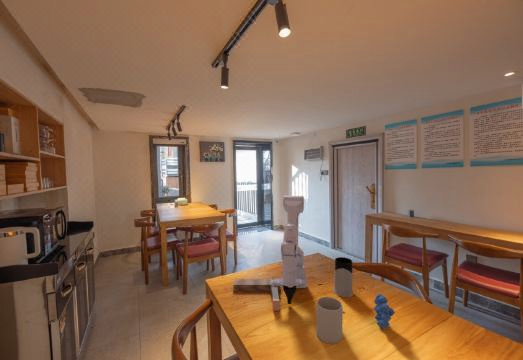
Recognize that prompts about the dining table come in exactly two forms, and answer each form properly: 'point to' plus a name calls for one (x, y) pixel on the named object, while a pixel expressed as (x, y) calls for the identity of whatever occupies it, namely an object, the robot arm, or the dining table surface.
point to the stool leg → (275, 298)
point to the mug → (329, 320)
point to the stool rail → (253, 284)
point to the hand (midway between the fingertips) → (289, 302)
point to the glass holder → (343, 277)
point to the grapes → (382, 311)
